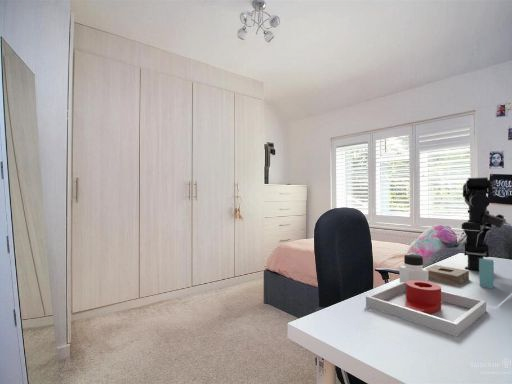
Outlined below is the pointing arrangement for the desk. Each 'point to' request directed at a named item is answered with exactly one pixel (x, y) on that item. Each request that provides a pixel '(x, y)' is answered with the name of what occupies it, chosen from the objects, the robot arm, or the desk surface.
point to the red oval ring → (423, 296)
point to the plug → (486, 273)
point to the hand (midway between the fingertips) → (478, 246)
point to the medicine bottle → (413, 269)
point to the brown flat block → (448, 275)
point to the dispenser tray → (425, 319)
